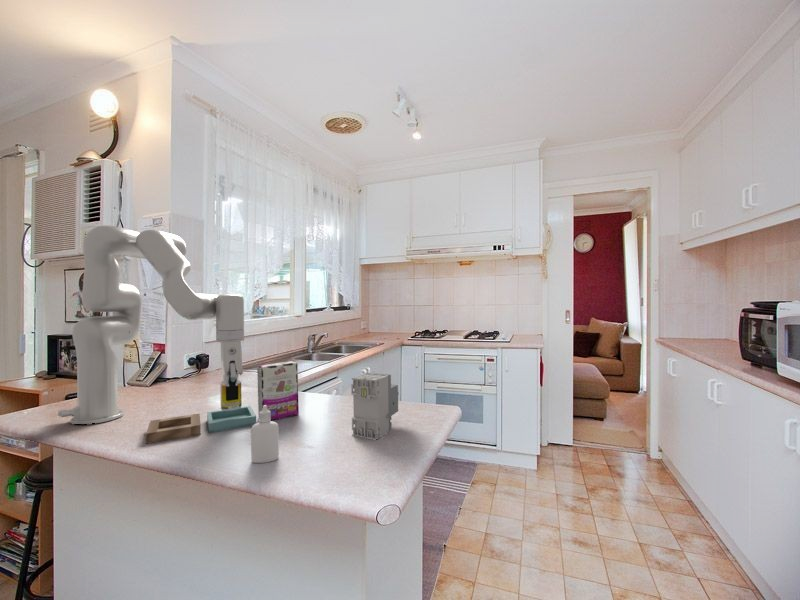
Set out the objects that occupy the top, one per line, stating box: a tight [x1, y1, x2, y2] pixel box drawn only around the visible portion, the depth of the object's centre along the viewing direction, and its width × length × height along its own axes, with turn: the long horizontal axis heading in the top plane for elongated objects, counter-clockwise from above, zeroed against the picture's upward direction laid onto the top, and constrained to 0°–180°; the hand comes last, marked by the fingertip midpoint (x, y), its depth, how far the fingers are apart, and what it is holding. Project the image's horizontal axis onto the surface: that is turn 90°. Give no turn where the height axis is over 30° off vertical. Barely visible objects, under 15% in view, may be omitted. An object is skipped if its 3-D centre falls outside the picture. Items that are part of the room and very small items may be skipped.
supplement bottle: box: [219, 372, 243, 411], centre depth 105 cm, size 6×6×10 cm
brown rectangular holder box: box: [145, 413, 202, 445], centre depth 98 cm, size 12×12×2 cm
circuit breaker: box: [350, 372, 399, 440], centre depth 98 cm, size 8×14×15 cm, turn 155°
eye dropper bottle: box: [250, 405, 280, 464], centre depth 79 cm, size 4×6×12 cm
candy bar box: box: [256, 360, 300, 421], centre depth 110 cm, size 11×5×16 cm, turn 129°
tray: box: [206, 405, 257, 434], centre depth 105 cm, size 12×12×2 cm
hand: (231, 396), depth 105 cm, fingers closed on supplement bottle, 5 cm apart
